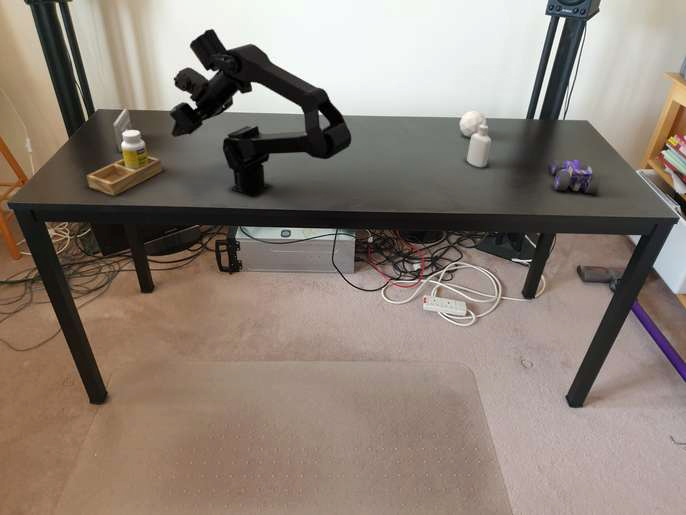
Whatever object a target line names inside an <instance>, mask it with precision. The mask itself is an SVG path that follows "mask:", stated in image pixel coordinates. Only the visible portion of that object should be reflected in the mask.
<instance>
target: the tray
mask: <svg viewBox="0 0 686 515" xmlns="http://www.w3.org/2000/svg"><path fill="white" fill-rule="evenodd" d="M147 157H148V163H149V164H148V165H145V166H143V167H141V168H139V169H137V170H133V169H130V168H127V167H126V166H125V161H124V157H123V158H122V159H121V158H120V159H119V160H117V161H115V162H113V163H111V164H109V165H106V166H104V167H102V168H100V169H98V170H95V171H93V172H92V173H88V174H87V175H86V180H87V184H88V187H89V188H91V189H94V190H96V191H99V192H102V193H104V194H107V195H110V196H113V197H115V196H117V195H119V194H121V193H124V192H125V191H126V190H129V189H130V188H132V187H134V186H136V185H138V184H141V183H142V182H143V181H145V180H147V179H149V178H151V177H154V176H155V175H158V174H159V173H162V172H163V167H162V161H161V159H159V158H156V157H152V156H149V155H147Z"/></svg>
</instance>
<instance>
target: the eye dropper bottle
mask: <svg viewBox="0 0 686 515" xmlns="http://www.w3.org/2000/svg"><path fill="white" fill-rule="evenodd" d="M488 132H489V126H488V124H487V120H486V121H483V124H482V125H480V126H479V129H478V133H475V134H473V135H472V137H471V138H470V141H469V146H468V151H467V156H466V161H467V163H468V164H470V165H472V166H474V167H476V168H485V167H487V164H488V160H489V156H490V151H491V146H492V139H491V138H490V136H489V135H488Z"/></svg>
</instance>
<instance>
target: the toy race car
mask: <svg viewBox="0 0 686 515" xmlns="http://www.w3.org/2000/svg"><path fill="white" fill-rule="evenodd" d="M586 168H587V169H586ZM550 169H551V170H550V171H551V174H552V175H554V176H555V177H554V179H553V180H554V181H553V184H554V185H553V186H554V187H553V188H554V190H555V191H561V192H565V191H567V189H568V188H569V187H570V188H571V190H572V191H573V192H579V190H580V188H582V190H583V193H585V194H592V195H595V194H596V193H597V192H598V191H599V188H600V183H601V179H600V175H599V174H598V173H594V170H593V168H592V166H591V165H588V167H587V166H586V163H585V162H580V161H579V160H578V159H574V160H573V162H572V161H570V160H566V161H564V162H563V164H562V161H561V160H556V159H555V160H553V162H552V164H551V167H550ZM583 178H584V179H583ZM582 179H583V181H582Z"/></svg>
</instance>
